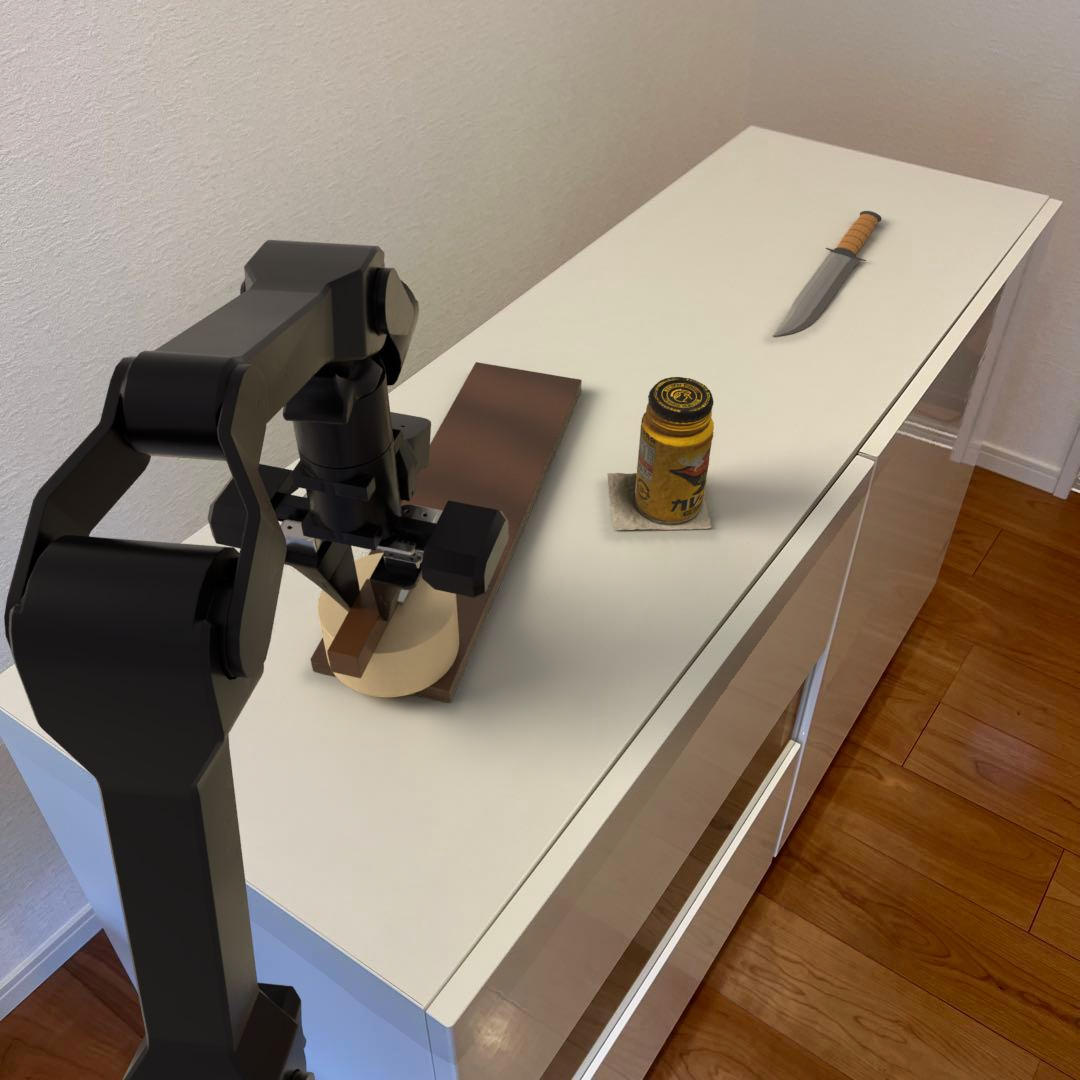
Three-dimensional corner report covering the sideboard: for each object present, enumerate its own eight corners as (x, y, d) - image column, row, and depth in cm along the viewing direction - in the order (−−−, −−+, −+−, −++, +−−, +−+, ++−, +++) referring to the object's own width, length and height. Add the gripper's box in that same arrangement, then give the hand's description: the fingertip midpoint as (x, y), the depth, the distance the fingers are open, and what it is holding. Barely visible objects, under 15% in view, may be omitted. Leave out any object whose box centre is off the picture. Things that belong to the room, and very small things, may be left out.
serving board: (450, 703, 80) (449, 691, 78) (312, 671, 82) (309, 659, 81) (581, 391, 107) (581, 379, 106) (476, 373, 109) (475, 361, 108)
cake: (433, 711, 77) (428, 665, 74) (304, 680, 79) (294, 635, 76) (476, 611, 84) (474, 565, 81) (357, 585, 86) (349, 539, 82)
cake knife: (366, 680, 72) (362, 659, 71) (325, 671, 73) (320, 650, 71) (448, 515, 84) (447, 494, 83) (412, 508, 85) (410, 487, 83)
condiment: (711, 529, 93) (729, 419, 85) (613, 531, 93) (622, 421, 84) (699, 474, 98) (715, 365, 90) (606, 476, 98) (614, 366, 90)
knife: (807, 343, 112) (763, 328, 114) (805, 353, 113) (761, 337, 115) (895, 216, 131) (856, 204, 132) (892, 225, 132) (853, 213, 133)
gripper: (531, 387, 68) (531, 560, 79) (262, 341, 72) (298, 513, 83) (477, 500, 61) (485, 674, 71) (179, 442, 64) (230, 617, 75)
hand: (372, 612), depth 75 cm, fingers closed on cake knife, 2 cm apart
